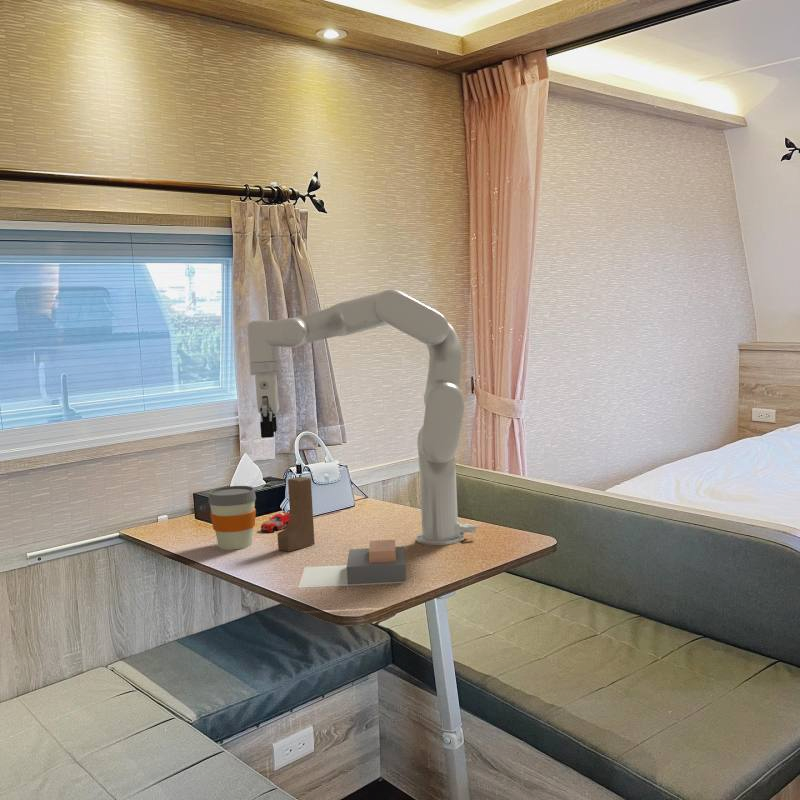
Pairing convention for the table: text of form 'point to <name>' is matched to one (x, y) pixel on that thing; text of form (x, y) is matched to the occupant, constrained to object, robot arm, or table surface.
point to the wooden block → (298, 516)
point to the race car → (276, 522)
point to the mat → (327, 577)
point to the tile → (382, 551)
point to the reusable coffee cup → (233, 515)
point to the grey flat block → (374, 568)
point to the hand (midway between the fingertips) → (269, 434)
